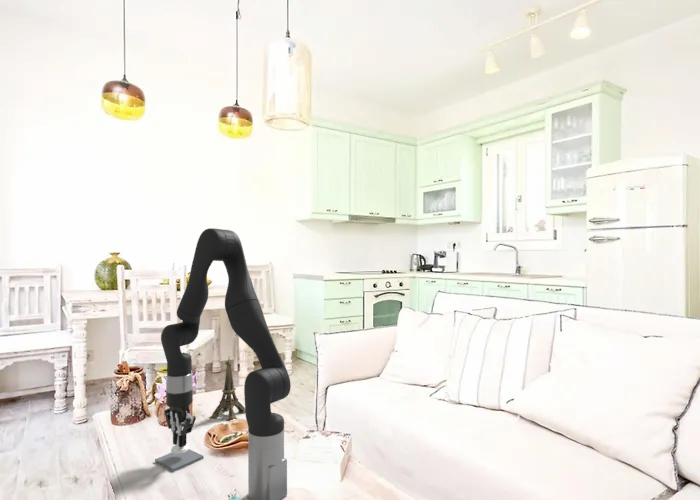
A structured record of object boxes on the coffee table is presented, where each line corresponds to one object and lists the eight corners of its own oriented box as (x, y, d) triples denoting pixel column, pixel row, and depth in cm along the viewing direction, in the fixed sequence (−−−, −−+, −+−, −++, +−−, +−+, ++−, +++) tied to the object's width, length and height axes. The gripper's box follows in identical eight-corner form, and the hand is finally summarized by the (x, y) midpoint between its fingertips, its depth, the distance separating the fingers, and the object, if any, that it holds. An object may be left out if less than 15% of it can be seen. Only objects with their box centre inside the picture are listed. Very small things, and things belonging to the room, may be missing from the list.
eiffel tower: (233, 421, 164) (233, 354, 163) (209, 418, 167) (208, 352, 167) (248, 411, 174) (248, 348, 173) (225, 408, 177) (224, 346, 177)
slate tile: (203, 458, 135) (203, 455, 135) (173, 471, 127) (173, 469, 127) (184, 449, 141) (184, 447, 141) (155, 461, 132) (155, 459, 132)
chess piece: (182, 454, 131) (182, 421, 131) (167, 452, 132) (167, 419, 132) (191, 447, 136) (191, 414, 135) (177, 445, 137) (177, 413, 136)
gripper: (203, 389, 132) (204, 446, 133) (177, 381, 141) (177, 434, 141) (181, 396, 126) (181, 456, 127) (155, 387, 135) (155, 443, 135)
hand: (179, 444), depth 134 cm, fingers closed on chess piece, 2 cm apart
